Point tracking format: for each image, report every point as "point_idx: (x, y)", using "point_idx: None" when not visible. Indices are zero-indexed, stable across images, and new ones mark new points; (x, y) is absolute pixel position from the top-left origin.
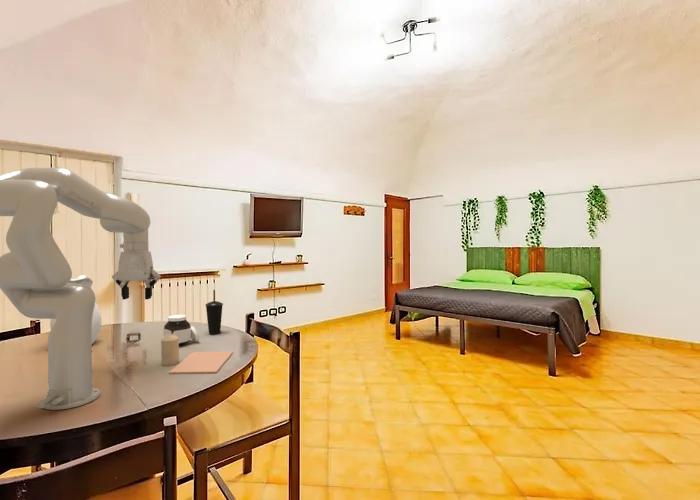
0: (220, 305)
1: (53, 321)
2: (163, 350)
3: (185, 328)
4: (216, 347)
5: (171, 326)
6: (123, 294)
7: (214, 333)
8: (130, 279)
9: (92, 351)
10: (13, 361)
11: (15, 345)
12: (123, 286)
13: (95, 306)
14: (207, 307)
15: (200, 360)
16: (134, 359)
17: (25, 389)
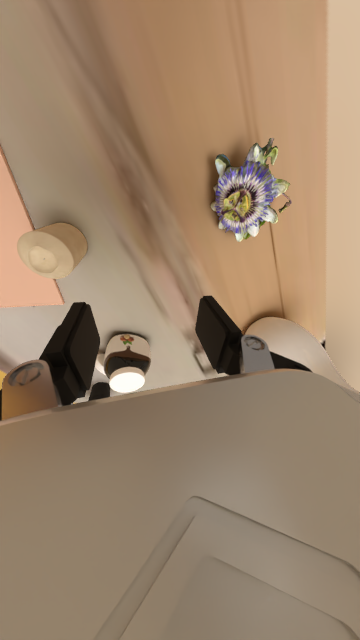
0: None
1: (313, 336)
2: (60, 230)
3: (105, 360)
4: (42, 335)
5: (130, 357)
6: (215, 307)
7: (96, 384)
8: (199, 389)
9: (221, 213)
10: (318, 267)
11: (317, 324)
12: (240, 346)
13: None
14: None
15: None
16: (158, 270)
17: (294, 64)
